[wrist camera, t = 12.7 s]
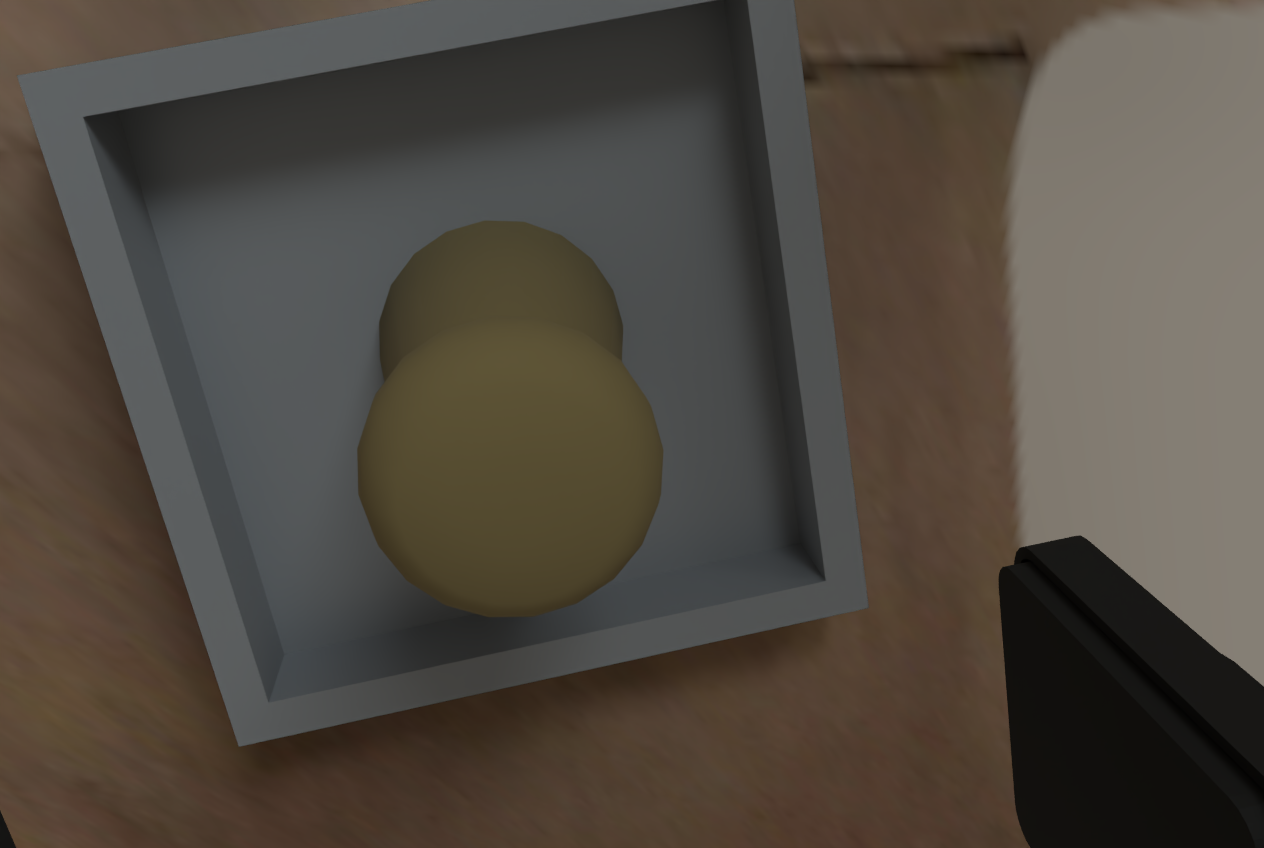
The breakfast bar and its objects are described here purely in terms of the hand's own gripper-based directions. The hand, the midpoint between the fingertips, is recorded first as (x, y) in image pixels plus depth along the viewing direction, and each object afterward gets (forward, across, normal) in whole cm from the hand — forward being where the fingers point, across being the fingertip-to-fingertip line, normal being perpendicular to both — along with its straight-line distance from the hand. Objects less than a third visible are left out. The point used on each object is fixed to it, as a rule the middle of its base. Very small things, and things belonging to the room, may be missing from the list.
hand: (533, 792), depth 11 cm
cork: (+19, 0, +1) cm, 19 cm away
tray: (+20, +1, +1) cm, 20 cm away
